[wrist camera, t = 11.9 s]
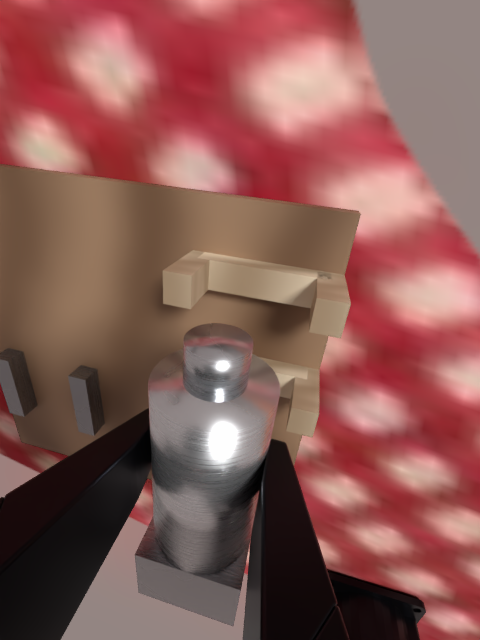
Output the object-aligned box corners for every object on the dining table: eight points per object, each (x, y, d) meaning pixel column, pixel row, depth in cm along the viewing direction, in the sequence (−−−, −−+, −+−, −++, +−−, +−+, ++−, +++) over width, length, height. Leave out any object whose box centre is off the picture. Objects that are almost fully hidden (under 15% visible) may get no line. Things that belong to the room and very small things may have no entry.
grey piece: (252, 523, 11) (233, 626, 9) (177, 501, 11) (138, 592, 9) (293, 322, 7) (279, 401, 5) (180, 301, 8) (116, 363, 5)
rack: (344, 274, 12) (350, 303, 9) (313, 391, 14) (312, 437, 12) (193, 250, 13) (162, 270, 10) (189, 363, 15) (164, 401, 13)
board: (358, 210, 11) (360, 213, 11) (281, 504, 20) (280, 516, 19) (-50, 157, 14) (-69, 157, 14) (30, 433, 22) (21, 442, 22)
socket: (97, 368, 17) (85, 380, 16) (105, 423, 19) (94, 436, 18) (8, 347, 18) (-8, 357, 17) (23, 401, 20) (9, 413, 19)
